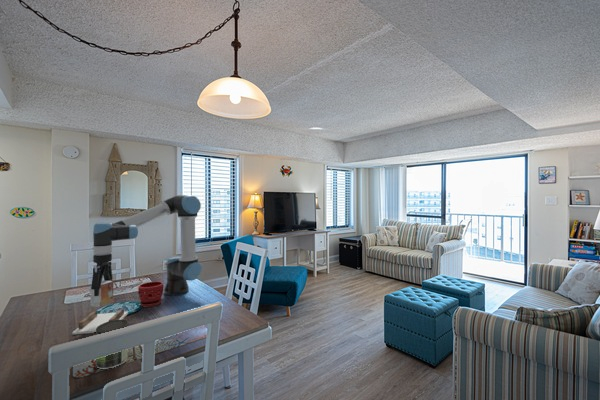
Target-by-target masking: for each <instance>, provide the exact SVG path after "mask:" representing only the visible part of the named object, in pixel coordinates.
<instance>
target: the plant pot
mask: <svg viewBox="0 0 600 400" xmlns="http://www.w3.org/2000/svg"><path fill="white" fill-rule="evenodd" d="M137 290H138V298H139V300H140V302H139V305H140V306H141V307H144V308H150V307H156V306H157V305H160V304H161V303H162V302H163V299H162V297H163V294H164V282H162V281H149V282H144V283H141V284H139V285H138V287H137Z"/></svg>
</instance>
